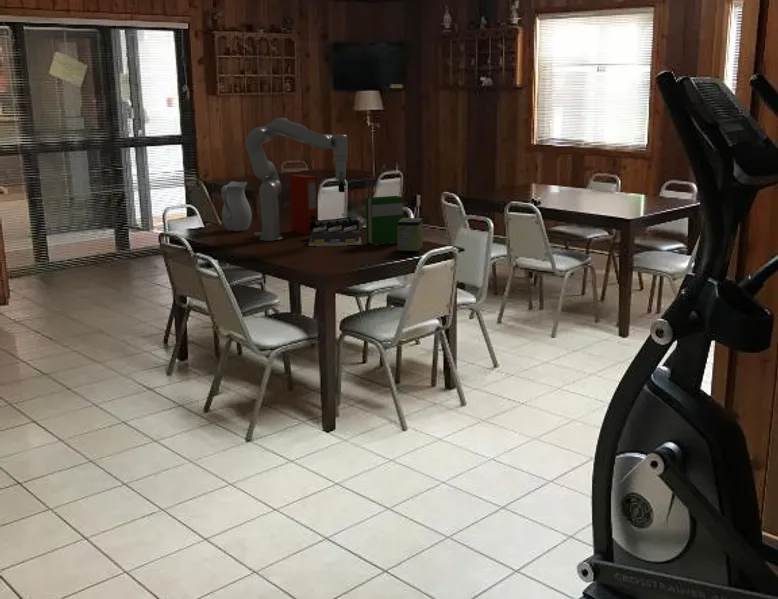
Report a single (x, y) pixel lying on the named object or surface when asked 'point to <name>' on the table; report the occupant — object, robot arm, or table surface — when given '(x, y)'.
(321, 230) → the switch left
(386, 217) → the hardback book
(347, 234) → the panel
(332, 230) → the switch middle
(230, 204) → the pitcher
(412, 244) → the protein box
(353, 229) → the switch right
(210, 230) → the table surface
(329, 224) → the muzzle brake
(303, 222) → the file binder
